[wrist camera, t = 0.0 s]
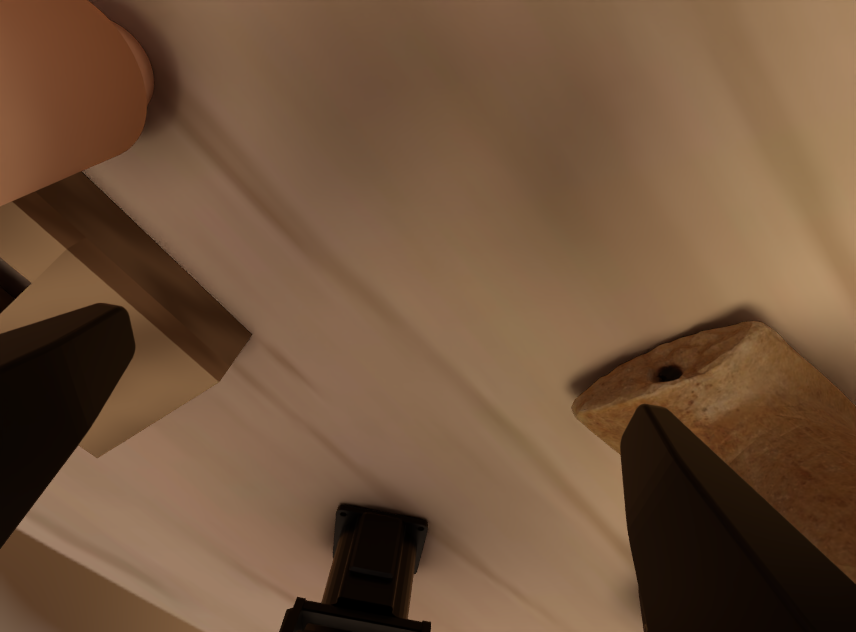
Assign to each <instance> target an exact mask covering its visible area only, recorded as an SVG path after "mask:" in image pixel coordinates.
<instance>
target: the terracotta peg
mask: <svg viewBox="0 0 856 632" xmlns="http://www.w3.org/2000/svg"><path fill="white" fill-rule="evenodd" d="M153 91H154V75H153V70H152V67H151V63H150V61H149V59H148V56H147V55H146V53H145V51H144V49H143V48H142V46H141V45H140V44H139V42H138V41H137V40H136V39H135V38H134V37H133V36H132V35H131V34H130V33H129V32H128V31H127V30H126V29H124V28H123V27H121V26H120V25H118V24H116V23H115V22H112V21H110V20H109V19H108V18H107V17H106V16H105V15H104V14H103V13H102V12H101V11H100V10H99V9H98V8H96V7H95V6H94V5H93V4H92V3H91V2H89V1H88V0H0V206H2V205H5V204H7V203H9V202H12V201H14V200H16V199H18V198H21V197H23V196H25V195H28V194H30V193H32V192H35V191H37V190H39V189H41V188H44V187H46V186H48V185H51V184H53V183H55V182H58V181H60V180H62V179H65V178H67V177H69V176H71V175H74V174H76V173H78V172H81V171H83V170H85V169H88V168H90V167H92V166H94V165H97V164H99V163H101V162H104V161H106V160H108V159H111V158H113V157H115V156H118V155H120V154H122V153H123V152H125V151H127V150H128V149H129V148H130V147H131V146H133V144H134V143H135V142H136V141H137V139H138V138H139V136H140V134H141V132H142V130H143V127H144V124H145V119H146V113H147V105H148V103H149V102H150V100H151V98H152V95H153Z"/></svg>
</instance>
